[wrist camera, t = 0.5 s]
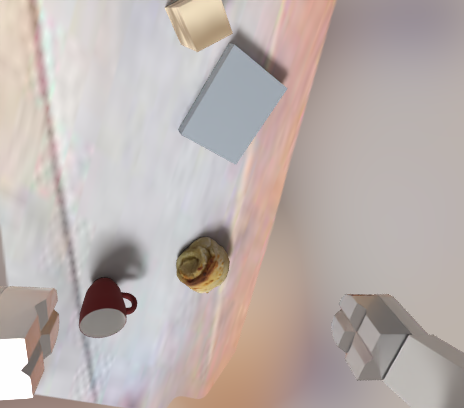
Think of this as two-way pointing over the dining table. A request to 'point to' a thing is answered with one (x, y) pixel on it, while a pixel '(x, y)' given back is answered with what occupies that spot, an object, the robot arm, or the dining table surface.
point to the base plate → (232, 105)
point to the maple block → (199, 22)
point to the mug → (104, 309)
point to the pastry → (203, 265)
